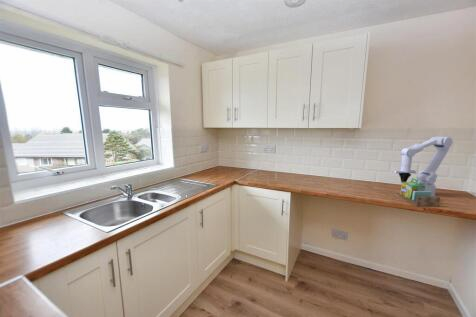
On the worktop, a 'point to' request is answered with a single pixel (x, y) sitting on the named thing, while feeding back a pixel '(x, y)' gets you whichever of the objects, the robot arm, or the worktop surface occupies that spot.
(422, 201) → the lane
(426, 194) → the follower
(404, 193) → the chalk box
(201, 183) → the worktop surface
